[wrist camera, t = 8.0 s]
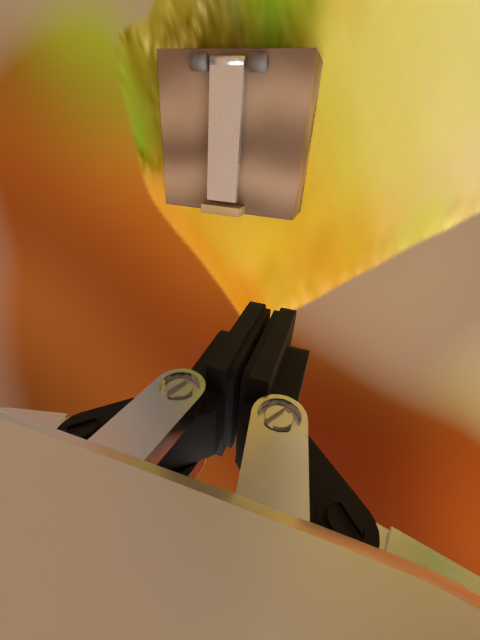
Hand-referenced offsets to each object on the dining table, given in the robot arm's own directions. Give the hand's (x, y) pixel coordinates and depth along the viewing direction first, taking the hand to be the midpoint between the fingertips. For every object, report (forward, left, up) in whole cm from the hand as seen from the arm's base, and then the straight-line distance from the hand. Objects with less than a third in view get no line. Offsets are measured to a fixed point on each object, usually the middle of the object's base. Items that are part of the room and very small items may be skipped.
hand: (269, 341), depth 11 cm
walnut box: (-6, -10, -27) cm, 30 cm away
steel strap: (-6, -10, -22) cm, 25 cm away
